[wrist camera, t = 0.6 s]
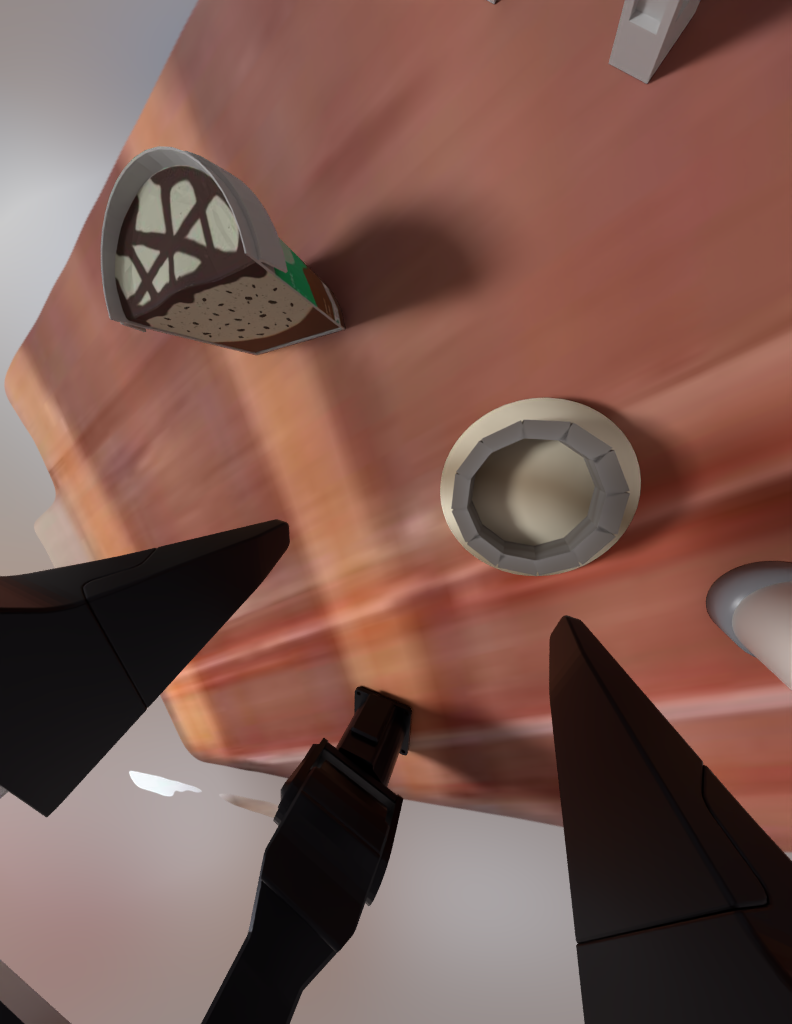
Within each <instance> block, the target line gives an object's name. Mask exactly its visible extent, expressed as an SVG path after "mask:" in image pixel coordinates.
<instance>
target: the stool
mask: <svg viewBox="0 0 792 1024" xmlns="http://www.w3.org/2000/svg"><path fill="white" fill-rule="evenodd" d="M487 1H489V2H491V3H493V4H495V2H496V0H487ZM699 3H700V0H625V2H624V6H623V10H622V14H621V18H620V22H619V25H618V29H617V33H616V37H615V41H614V45H613V49H612V52H611V56H610V60H609V64H610V65H612V66H614V67H616V68H618V69H620V70H622V71H624V72H625V73H627V74H629V75H631V76H633V77H635V78H637V79H639V80H640V81H642V82H644V83H646V84H647V83H648V82H649V80H650V79H651V77H652V76H653V74H654V73H655V72H656V70H657V69H658V67H659V66H660V64H661V63H662V61H663V60H664V58H665V57H666V55H667V54H668V52H669V51H670V49H671V48H672V46H673V45H674V43H675V42H676V41H677V39H678V38H679V36H680V35H681V33H682V32H683V30H684V29H685V27H686V26H687V24H688V23H689V21H690V20H691V18H692V17H693V15H694V14H695V12H696V10H697V7H698V5H699Z"/></svg>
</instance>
